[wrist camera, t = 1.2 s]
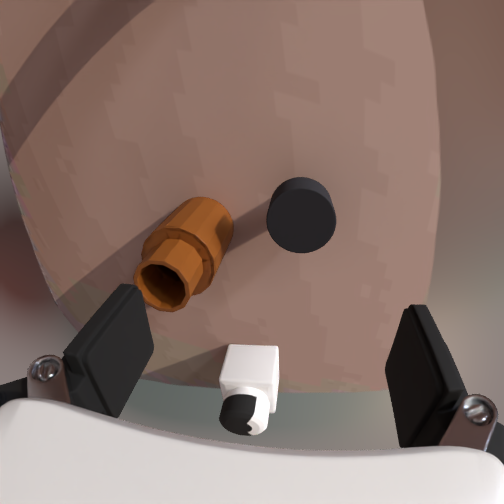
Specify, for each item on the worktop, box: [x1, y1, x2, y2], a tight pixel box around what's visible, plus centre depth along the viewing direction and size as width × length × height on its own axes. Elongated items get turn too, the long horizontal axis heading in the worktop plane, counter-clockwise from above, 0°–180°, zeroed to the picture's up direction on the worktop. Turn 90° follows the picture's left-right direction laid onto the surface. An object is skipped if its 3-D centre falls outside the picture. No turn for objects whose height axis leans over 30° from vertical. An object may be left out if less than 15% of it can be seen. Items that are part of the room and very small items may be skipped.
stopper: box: [266, 177, 336, 253], centre depth 30 cm, size 6×6×8 cm
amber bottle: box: [133, 197, 233, 312], centre depth 31 cm, size 7×7×13 cm
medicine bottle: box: [219, 344, 279, 436], centre depth 40 cm, size 7×7×12 cm
